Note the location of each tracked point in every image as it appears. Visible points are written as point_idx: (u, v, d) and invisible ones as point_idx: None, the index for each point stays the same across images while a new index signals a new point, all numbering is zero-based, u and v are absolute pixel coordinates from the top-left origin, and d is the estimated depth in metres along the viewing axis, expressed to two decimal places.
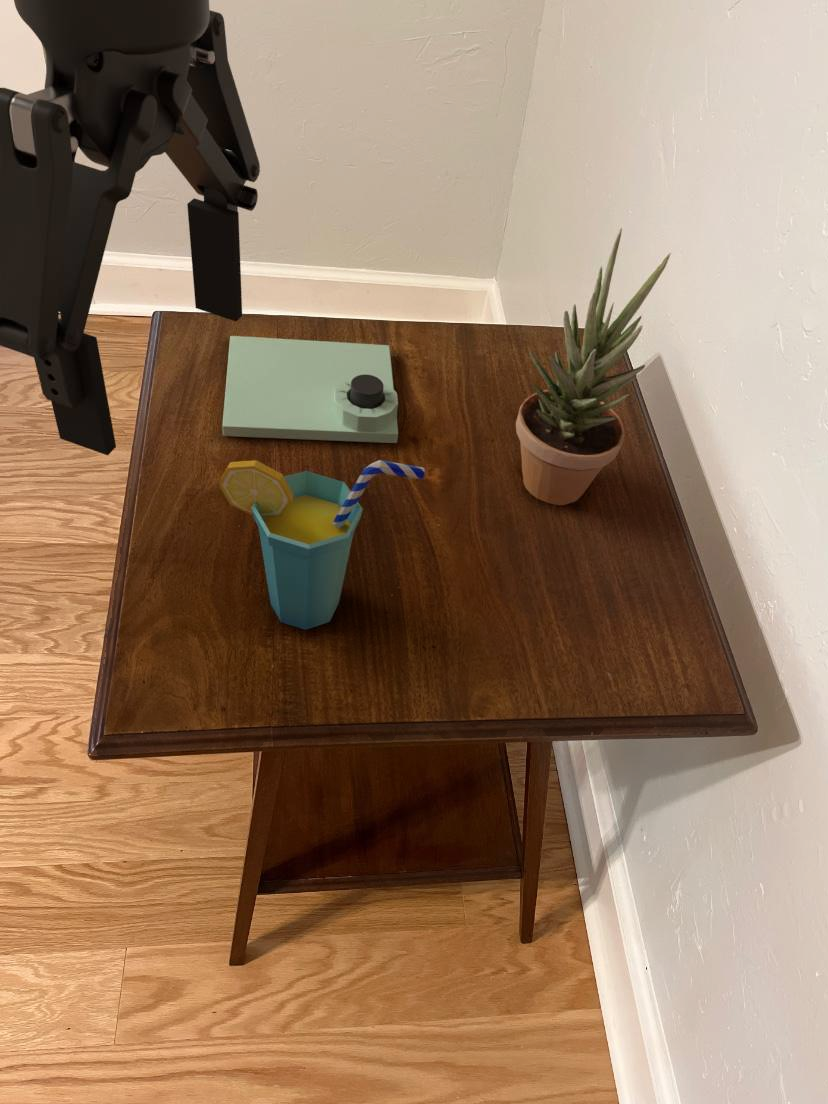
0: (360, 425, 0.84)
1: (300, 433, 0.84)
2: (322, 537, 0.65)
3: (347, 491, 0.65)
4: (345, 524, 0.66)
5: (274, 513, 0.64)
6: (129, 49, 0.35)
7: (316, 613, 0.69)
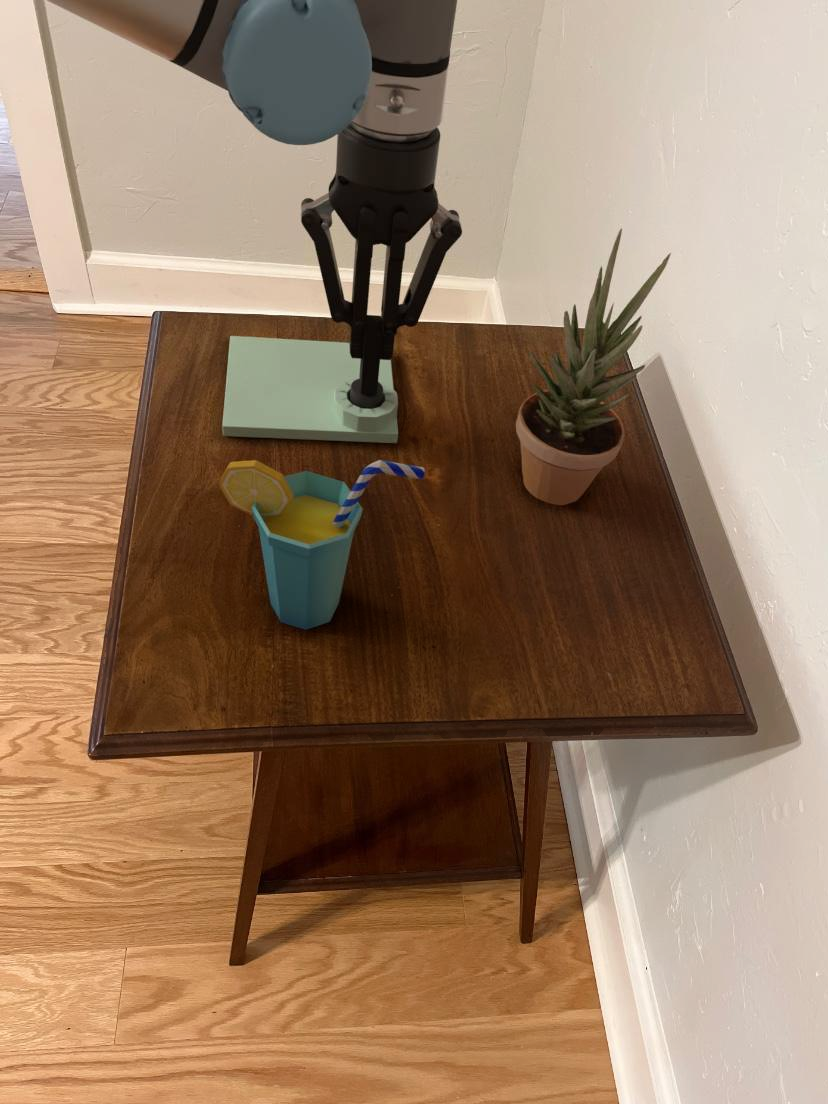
0: (360, 425, 0.84)
1: (300, 433, 0.84)
2: (322, 537, 0.65)
3: (347, 491, 0.65)
4: (345, 524, 0.66)
5: (274, 513, 0.64)
6: (350, 180, 0.67)
7: (316, 613, 0.69)
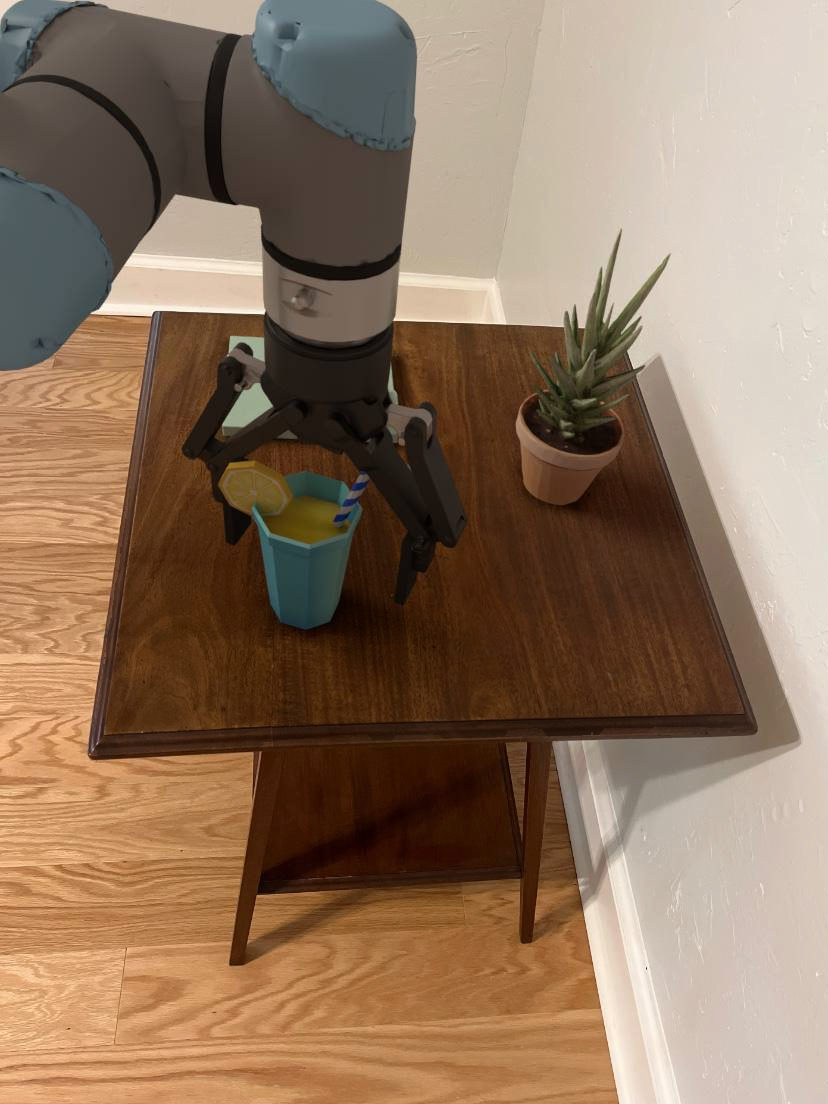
0: None
1: None
2: (321, 537, 0.65)
3: (347, 491, 0.66)
4: (345, 524, 0.66)
5: (274, 513, 0.64)
6: (268, 372, 0.54)
7: (316, 613, 0.69)
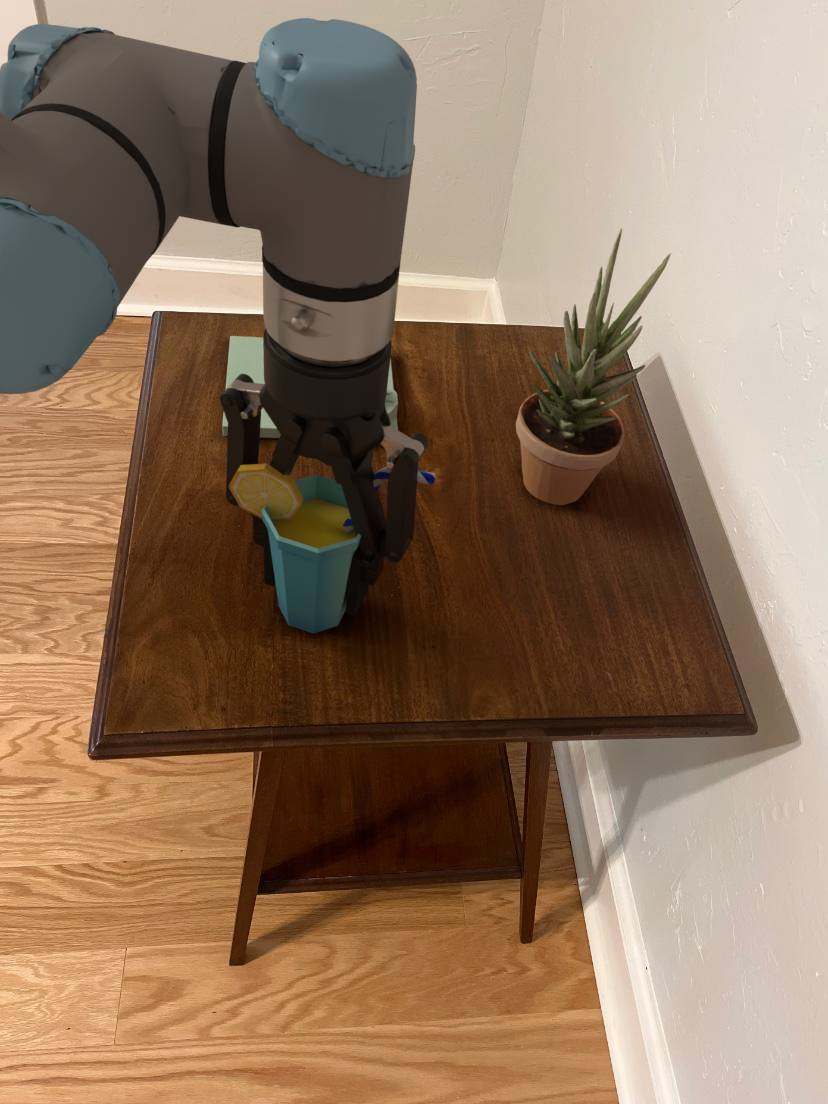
0: None
1: None
2: (331, 542, 0.65)
3: None
4: None
5: (284, 516, 0.64)
6: (267, 388, 0.55)
7: (324, 617, 0.69)
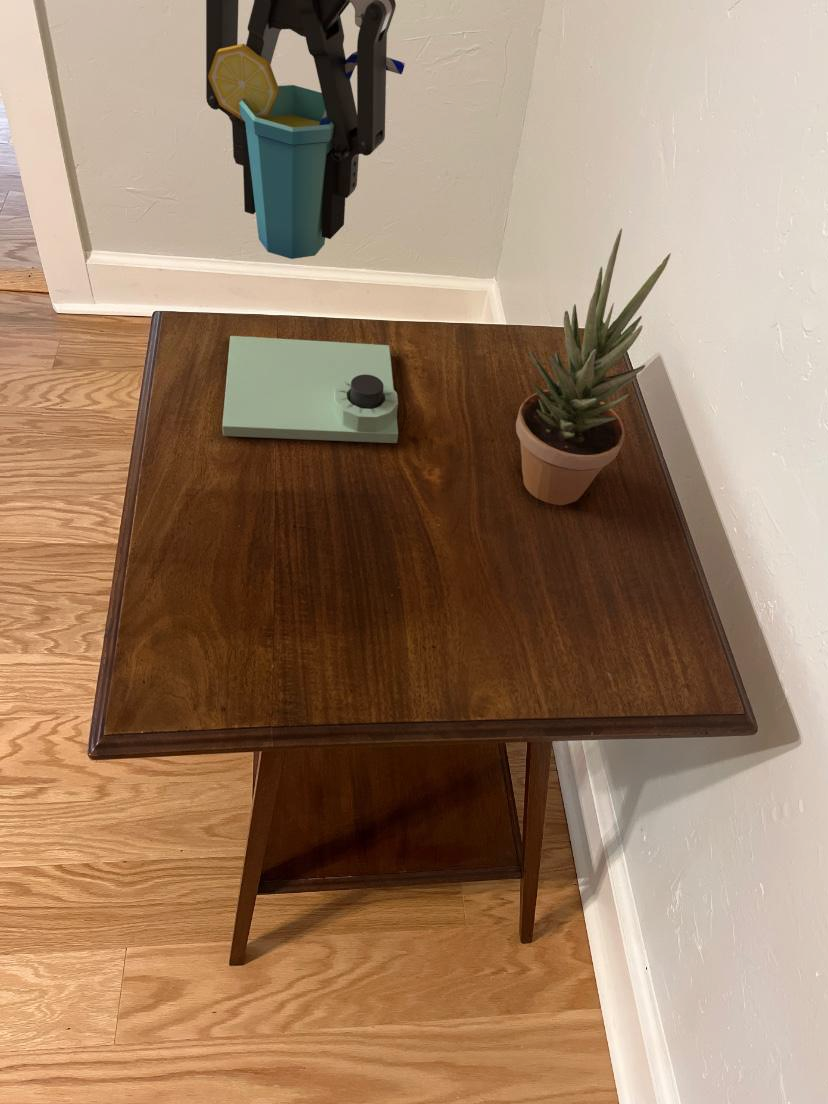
0: (360, 425, 0.84)
1: (300, 433, 0.84)
2: None
3: None
4: None
5: (261, 112, 0.67)
6: None
7: (301, 237, 0.72)
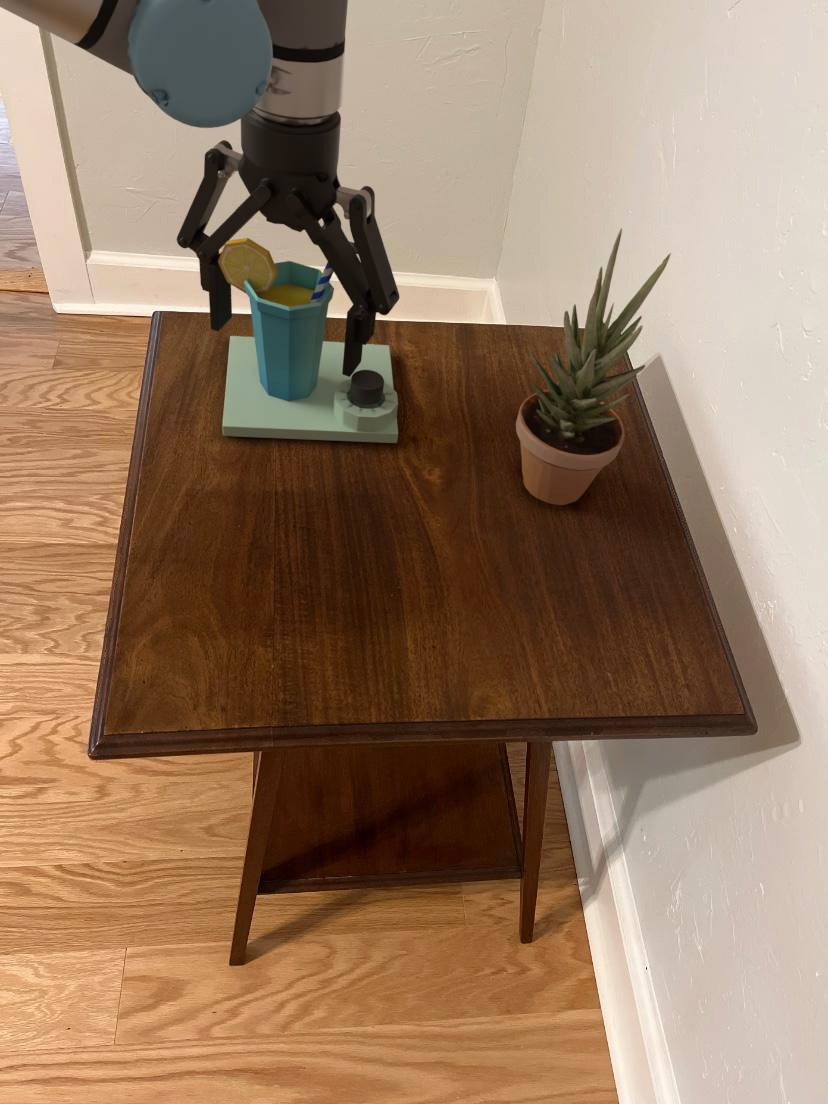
0: (360, 425, 0.84)
1: (300, 433, 0.84)
2: None
3: None
4: None
5: (262, 288, 0.79)
6: (243, 152, 0.70)
7: (297, 384, 0.84)
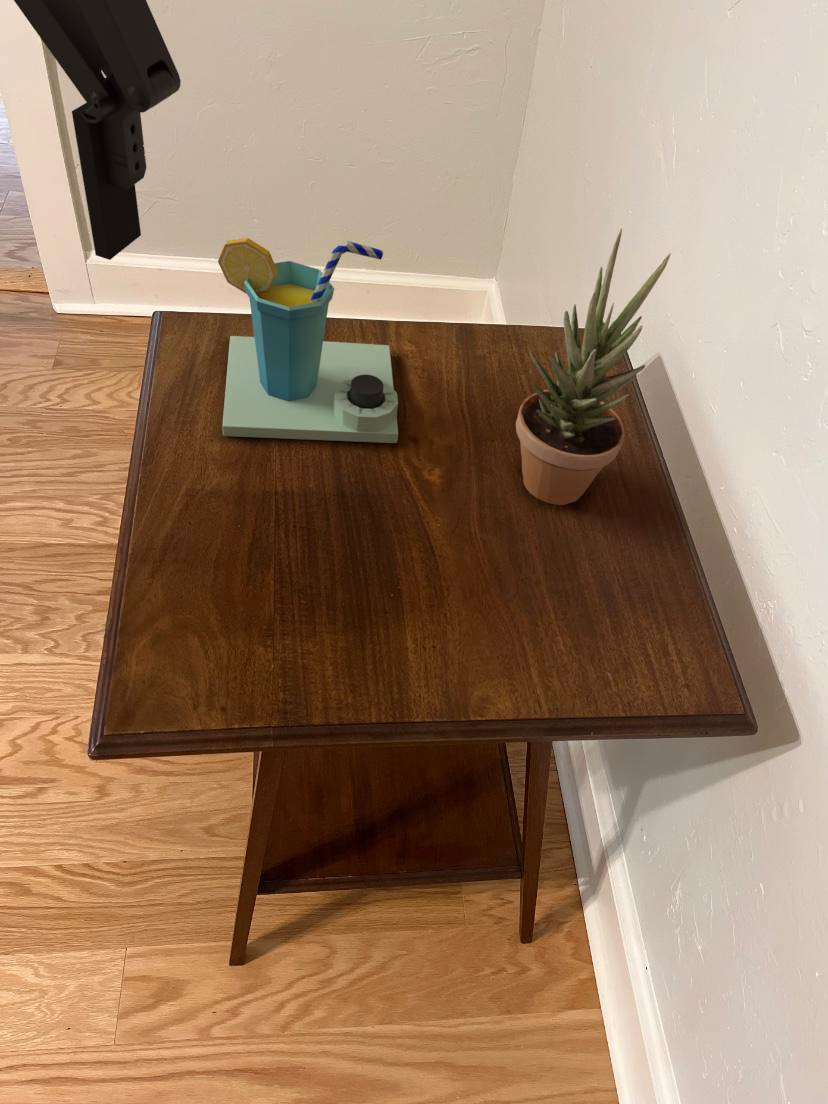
0: (360, 425, 0.84)
1: (300, 433, 0.84)
2: None
3: None
4: None
5: (262, 288, 0.79)
6: None
7: (297, 384, 0.84)
